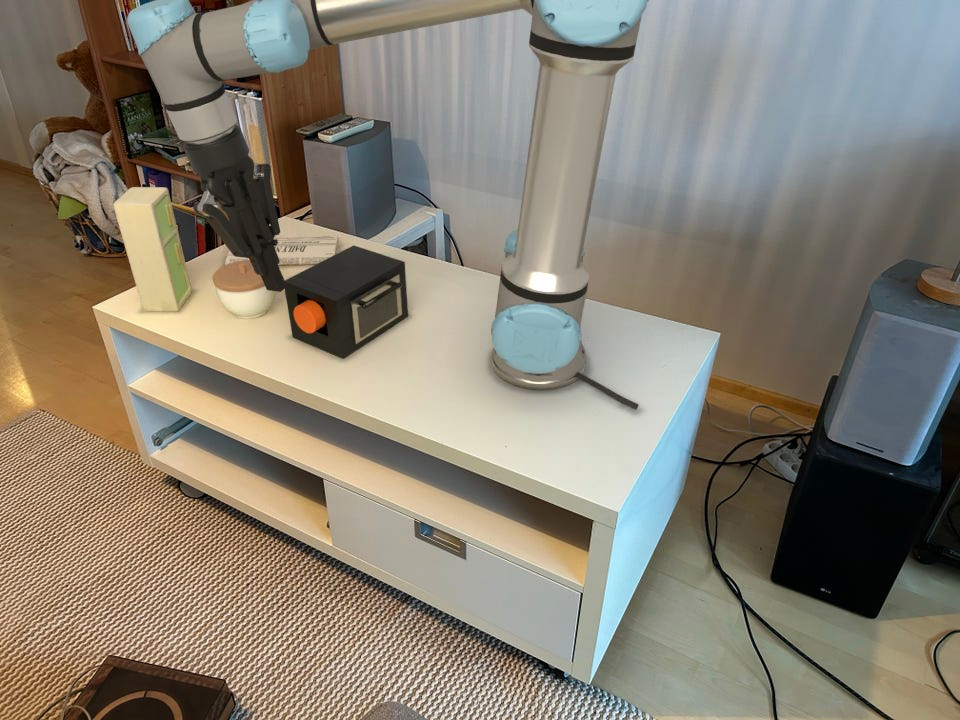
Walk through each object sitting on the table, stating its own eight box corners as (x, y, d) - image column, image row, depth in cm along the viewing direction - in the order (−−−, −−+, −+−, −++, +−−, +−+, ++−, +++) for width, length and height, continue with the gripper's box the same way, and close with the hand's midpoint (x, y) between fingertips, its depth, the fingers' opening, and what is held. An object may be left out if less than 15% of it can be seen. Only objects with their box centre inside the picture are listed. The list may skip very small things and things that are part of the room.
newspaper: (339, 239, 162) (338, 229, 161) (334, 270, 153) (333, 259, 151) (234, 241, 161) (232, 231, 160) (222, 272, 152) (220, 262, 150)
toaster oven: (352, 363, 122) (345, 304, 116) (292, 337, 129) (283, 281, 123) (417, 319, 134) (414, 264, 128) (359, 298, 140) (353, 245, 134)
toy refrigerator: (182, 312, 136) (154, 203, 124) (142, 312, 136) (111, 203, 125) (197, 291, 143) (171, 186, 131) (159, 291, 143) (130, 186, 131)
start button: (317, 337, 121) (313, 310, 118) (295, 328, 124) (291, 302, 121) (327, 331, 123) (324, 304, 120) (306, 322, 125) (302, 296, 123)
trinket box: (209, 321, 133) (198, 274, 128) (239, 293, 142) (230, 248, 137) (263, 328, 131) (254, 281, 126) (290, 300, 140) (283, 254, 135)
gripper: (224, 112, 100) (285, 262, 114) (152, 154, 91) (228, 310, 106) (264, 112, 96) (323, 266, 110) (193, 156, 88) (267, 317, 102)
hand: (276, 288), depth 108 cm, fingers closed
